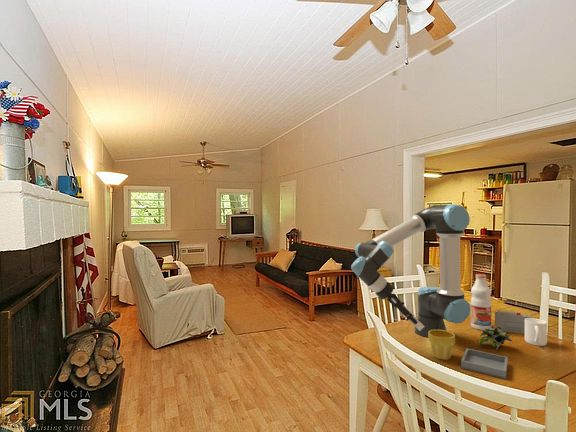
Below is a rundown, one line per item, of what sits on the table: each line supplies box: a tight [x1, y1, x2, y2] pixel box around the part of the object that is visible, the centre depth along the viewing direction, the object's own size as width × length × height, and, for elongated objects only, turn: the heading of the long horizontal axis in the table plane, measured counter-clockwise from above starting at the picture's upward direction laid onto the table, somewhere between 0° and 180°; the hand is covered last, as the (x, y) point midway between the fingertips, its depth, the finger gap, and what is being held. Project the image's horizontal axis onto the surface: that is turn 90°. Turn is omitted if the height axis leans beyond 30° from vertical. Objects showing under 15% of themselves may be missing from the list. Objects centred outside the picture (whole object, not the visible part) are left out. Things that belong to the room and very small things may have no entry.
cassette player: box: [494, 310, 534, 335], centre depth 167 cm, size 16×3×10 cm, turn 63°
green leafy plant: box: [478, 325, 513, 351], centre depth 148 cm, size 11×11×12 cm
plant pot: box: [427, 330, 456, 360], centre depth 139 cm, size 10×10×10 cm
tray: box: [460, 347, 509, 380], centre depth 130 cm, size 15×15×3 cm
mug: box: [524, 317, 548, 347], centre depth 151 cm, size 12×8×10 cm
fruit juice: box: [470, 273, 492, 331], centre depth 173 cm, size 9×9×28 cm
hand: (417, 322), depth 140 cm, fingers open, 13 cm apart
